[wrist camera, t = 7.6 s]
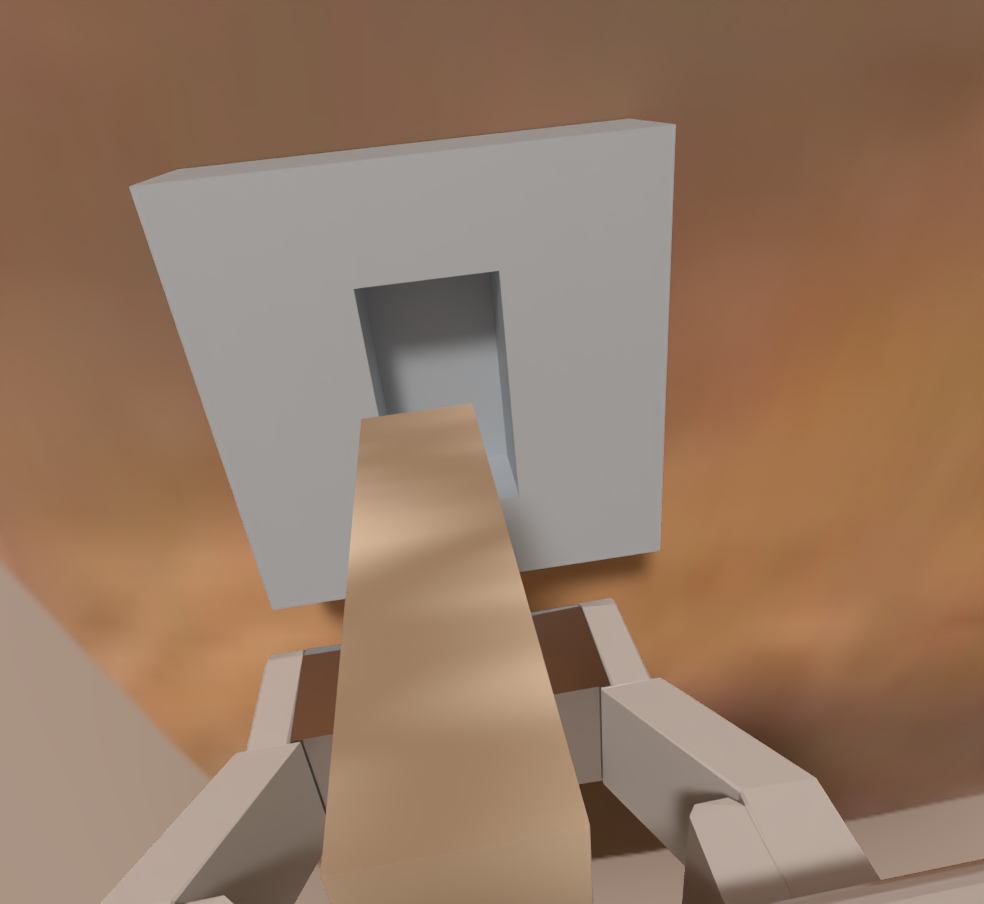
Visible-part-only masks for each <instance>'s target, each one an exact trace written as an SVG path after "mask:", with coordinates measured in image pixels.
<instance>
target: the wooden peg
mask: <svg viewBox="0 0 984 904" xmlns="http://www.w3.org/2000/svg"><path fill="white" fill-rule="evenodd" d="M320 878H321V880H322V883H323V886H324V888H325V891H326V894H327V896H328V899H329V902H330V904H593V891H592V864H591V839H590V823H589V820H588V816H587V813H586V809H585V805H584V802H583V798H582V795H581V791H580V788H579V784H578V780H577V777H576V773H575V770H574V766H573V763H572V759H571V755H570V752H569V748H568V745H567V741H566V737H565V734H564V730H563V727H562V723H561V720H560V716H559V712H558V709H557V705H556V702H555V698H554V694H553V691H552V687H551V684H550V680H549V677H548V673H547V669H546V666H545V662H544V659H543V655H542V651H541V648H540V644H539V641H538V637H537V634H536V630H535V626H534V623H533V619H532V616H531V612H530V609H529V605H528V601H527V598H526V594H525V591H524V587H523V583H522V580H521V576H520V573H519V569H518V566H517V562H516V558H515V555H514V551H513V548H512V544H511V540H510V537H509V533H508V530H507V526H506V523H505V519H504V515H503V512H502V508H501V505H500V501H499V497H498V494H497V490H496V487H495V483H494V480H493V476H492V472H491V469H490V465H489V462H488V458H487V455H486V451H485V447H484V444H483V440H482V437H481V433H480V429H479V426H478V422H477V419H476V415H475V412H474V408H473V404H472V403H469V404H462V405H455V406H448V407H441V408H434V409H427V410H420V411H413V412H406V413H399V414H392V415H385V416H378V417H371V418H364V419H361V428H360V439H359V450H358V461H357V472H356V484H355V495H354V506H353V517H352V528H351V540H350V551H349V562H348V573H347V584H346V596H345V607H344V618H343V629H342V640H341V652H340V663H339V674H338V685H337V696H336V708H335V719H334V730H333V741H332V752H331V764H330V775H329V786H328V797H327V808H326V820H325V831H324V842H323V853H322V864H321V876H320Z"/></svg>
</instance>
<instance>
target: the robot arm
mask: <svg viewBox="0 0 984 904" xmlns="http://www.w3.org/2000/svg"><path fill="white" fill-rule="evenodd" d="M531 616H532V619H533V623H534V626H535V630H536V634H537V637H538V641H539V644H540V648H541V651H542V655H543V659H544V662H545V666H546V669H547V673H548V677H549V680H550V684H551V687H552V691H553V694H554V698H555V702H556V705H557V709H558V712H559V716H560V720H561V723H562V727H563V730H564V734H565V737H566V741H567V745H568V748H569V752H570V755H571V759H572V763H573V766H574V770H575V773H576V777H577V780H578V784H584V783H590V782H596V781H602V780H603V784H604V785H605V786H606V787H607V788H608V789H609V790H610V791H611V792H612V793H613V794H614V795H615V796H616V797H617V798H618V799H619V800H620V801H621V802H622V803H623V804H624V805H625V806H626V807H627V808H628V809H629V810H630V811H631V812H632V813H633V814H634V815H635V816H636V817H637V818H638V819H639V820H640V821H641V822H642V823H643V824H644V825H645V826H646V827H647V828H648V829H649V830H650V831H651V832H652V833H653V834H654V835H655V836H656V837H657V838H658V839H659V840H660V841H661V842H662V843H663V844H664V845H665V846H666V847H667V848H668V849H669V850H670V851H671V852H672V853H673V854H674V855H675V856H676V857H677V858H678V859H679V860H680V861H681V862H682V863H683V864H684V865H685V876H684V888H683V900H682V904H984V859H982V860H977V861H971V862H967V863H962V864H957V865H952V866H947V867H943V868H938V869H933V870H928V871H924V872H918V873H914V874H909V875H904V876H899V877H895V878H890V879H885V880H880V879H879V877H878V875H877V873H876V872H875V870H874V869H873V867H872V866H871V864H870V862H869V861H868V859H867V858H866V856H865V855H864V853H863V851H862V850H861V848H860V847H859V845H858V844H857V842H856V840H855V839H854V837H853V836H852V834H851V832H850V831H849V829H848V828H847V826H846V824H845V823H844V821H843V820H842V818H841V817H840V815H839V813H838V812H837V810H836V809H835V807H834V805H833V804H832V802H831V801H830V799H829V798H828V796H827V794H826V793H825V791H824V790H823V788H822V787H821V785H820V783H819V782H818V780H817V779H816V778H815V777H814V776H812V775H811V774H809V773H807V772H806V771H804V770H803V769H801V768H800V767H798V766H797V765H795V764H794V763H792V762H791V761H789V760H787V759H786V758H784V757H783V756H781V755H780V754H778V753H777V752H775V751H774V750H772V749H771V748H769V747H768V746H766V745H764V744H763V743H761V742H760V741H758V740H757V739H755V738H754V737H752V736H751V735H749V734H748V733H746V732H744V731H743V730H741V729H740V728H738V727H737V726H735V725H734V724H732V723H731V722H729V721H728V720H726V719H725V718H723V717H721V716H720V715H718V714H717V713H715V712H714V711H712V710H711V709H709V708H708V707H706V706H705V705H703V704H701V703H700V702H698V701H697V700H695V699H694V698H692V697H691V696H689V695H688V694H686V693H685V692H683V691H681V690H680V689H678V688H677V687H675V686H674V685H672V684H671V683H669V682H668V681H666V680H665V679H663V678H662V677H661V678H654V679H651V677H650V675H649V673H648V671H647V669H646V667H645V664H644V662H643V660H642V658H641V656H640V654H639V651H638V649H637V647H636V645H635V643H634V641H633V638H632V636H631V634H630V632H629V630H628V628H627V625H626V623H625V621H624V619H623V617H622V615H621V612H620V610H619V608H618V606H617V604H616V602H615V601H614V600H613V599H612V598H607V599H602V600H596V601H591V602H585V603H580V604H579V605H571V606H565V607H560V608H554V609H548V610H543V611H537V612H531ZM340 652H341V644H338V645H331V646H324V647H317V648H310V649H307V650H302V651H295V652H288V653H280V654H273V655H271V656H270V658H269V659H268V661H267V662H266V665H265V669H264V674H263V678H262V683H261V687H260V692H259V696H258V700H257V705H256V709H255V714H254V718H253V723H252V727H251V732H250V736H249V741H248V745H247V750H246V751H245V752H240V753H235V754H234V755H233V756H232V757H231V758H230V760H229V761H228V762H227V763H226V764H225V765H224V766H223V767H222V768H221V770H220V771H219V772H218V773H217V774H216V775H215V776H214V777H213V778H212V780H211V781H210V782H209V783H208V784H207V785H206V786H205V787H204V789H203V790H202V791H201V792H200V793H199V794H198V795H197V796H196V797H195V799H194V800H193V801H192V802H191V803H190V804H189V805H188V806H187V807H186V809H185V810H184V811H183V812H182V813H181V814H180V815H179V816H178V817H177V819H176V820H175V821H174V822H173V823H172V824H171V825H170V826H169V827H168V829H167V830H166V831H165V832H164V833H163V834H162V835H161V836H160V837H159V839H158V840H157V841H156V842H155V843H154V844H153V845H152V846H151V847H150V849H149V850H148V851H147V852H146V853H145V854H144V855H143V856H142V858H141V859H140V860H139V861H138V862H137V863H136V864H135V865H134V866H133V867H132V869H131V870H130V871H129V872H128V873H127V874H126V875H125V876H124V877H123V879H122V880H121V881H120V882H119V883H118V884H117V885H116V886H115V887H114V889H113V890H112V891H111V892H110V893H109V894H108V895H107V896H106V897H105V899H104V900H103V901H102V902H101V903H100V904H294V903H295V902H296V900H297V898H298V896H299V894H300V893H301V891H302V889H303V887H304V886H305V884H306V882H307V880H308V879H309V877H310V875H311V873H312V871H313V870H314V868H315V866H316V864H317V863H318V861H319V859H320V857H321V856H322V853H323V842H324V831H325V820H326V808H327V797H328V786H329V775H330V764H331V752H332V741H333V730H334V719H335V708H336V696H337V685H338V674H339V663H340Z"/></svg>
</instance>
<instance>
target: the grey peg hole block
mask: <svg viewBox="0 0 984 904" xmlns="http://www.w3.org/2000/svg"><path fill="white" fill-rule="evenodd" d="M675 132H676V124H669V123H661V122H653V121H645V120H637V119H621V120H612V121H603V122H594V123H585V124H576V125H568V126H559V127H550V128H541V129H532V130H523V131H514V132H505V133H497V134H488V135H479V136H470V137H461V138H452V139H443V140H435V141H426V142H417V143H408V144H399V145H390V146H381V147H372V148H364V149H355V150H346V151H337V152H328V153H319V154H310V155H302V156H293V157H284V158H275V159H266V160H257V161H248V162H239V163H231V164H222V165H213V166H204V167H195V168H186V169H177V170H174V171H172V172H169V173H166V174H163V175H160V176H157V177H155V178H152V179H149V180H146V181H143V182H140V183H138V184H135V185H132V186H129V188H130V191H131V194H132V197H133V200H134V203H135V206H136V209H137V212H138V215H139V218H140V221H141V224H142V226H143V229H144V232H145V235H146V238H147V241H148V244H149V247H150V250H151V253H152V256H153V259H154V262H155V265H156V268H157V271H158V274H159V277H160V280H161V283H162V286H163V288H164V291H165V294H166V297H167V300H168V303H169V306H170V309H171V312H172V315H173V318H174V321H175V324H176V327H177V330H178V333H179V336H180V339H181V342H182V345H183V347H184V350H185V353H186V356H187V359H188V362H189V365H190V368H191V371H192V374H193V377H194V380H195V383H196V386H197V389H198V392H199V395H200V398H201V401H202V404H203V407H204V409H205V412H206V415H207V418H208V421H209V424H210V427H211V430H212V433H213V436H214V439H215V442H216V445H217V448H218V451H219V454H220V457H221V460H222V463H223V466H224V468H225V471H226V474H227V477H228V480H229V483H230V486H231V489H232V492H233V495H234V498H235V501H236V504H237V507H238V510H239V513H240V516H241V519H242V522H243V525H244V528H245V530H246V533H247V536H248V539H249V542H250V545H251V548H252V551H253V554H254V557H255V560H256V563H257V566H258V569H259V572H260V575H261V578H262V581H263V584H264V587H265V589H266V592H267V595H268V598H269V601H270V604H271V607H272V610H275V609H282V608H288V607H295V606H301V605H308V604H315V603H321V602H328V601H334V600H341V599H345V596H346V584H347V573H348V562H349V551H350V540H351V528H352V517H353V506H354V495H355V484H356V472H357V461H358V450H359V439H360V428H361V419H364V418H371V417H378V416H385V415H392V414H399V413H406V412H413V411H420V410H427V409H434V408H441V407H448V406H455V405H462V404H469V403H472V404H473V408H474V412H475V415H476V419H477V422H478V426H479V429H480V433H481V437H482V440H483V444H484V447H485V451H486V455H487V458H488V462H489V465H490V469H491V472H492V476H493V480H494V483H495V487H496V490H497V494H498V497H499V501H500V505H501V508H502V512H503V515H504V519H505V523H506V526H507V530H508V533H509V537H510V540H511V544H512V548H513V551H514V555H515V558H516V562H517V566H518V569H519V572H524V571H531V570H537V569H544V568H550V567H557V566H563V565H570V564H577V563H583V562H590V561H596V560H603V559H609V558H616V557H622V556H629V555H635V554H642V553H649V552H655V551H660V536H661V509H662V482H663V455H664V428H665V401H666V375H667V348H668V321H669V294H670V267H671V240H672V213H673V186H674V159H675Z"/></svg>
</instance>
